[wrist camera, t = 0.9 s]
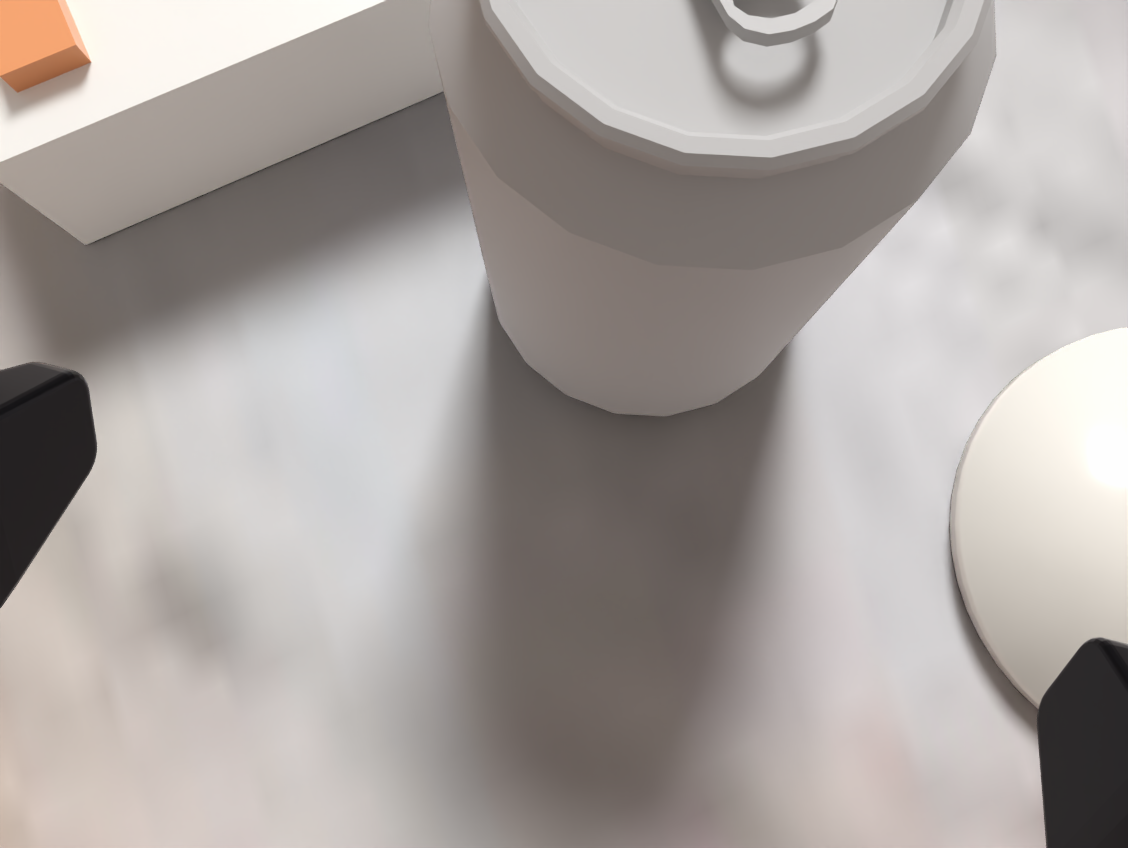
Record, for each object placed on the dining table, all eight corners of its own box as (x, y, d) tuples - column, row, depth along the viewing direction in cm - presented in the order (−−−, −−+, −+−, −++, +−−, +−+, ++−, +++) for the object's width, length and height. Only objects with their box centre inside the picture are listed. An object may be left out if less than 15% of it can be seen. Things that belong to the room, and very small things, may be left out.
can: (716, 88, 23) (879, -450, 11) (850, 350, 22) (1196, 57, 10) (442, 199, 22) (308, -243, 11) (564, 474, 21) (566, 323, 9)
